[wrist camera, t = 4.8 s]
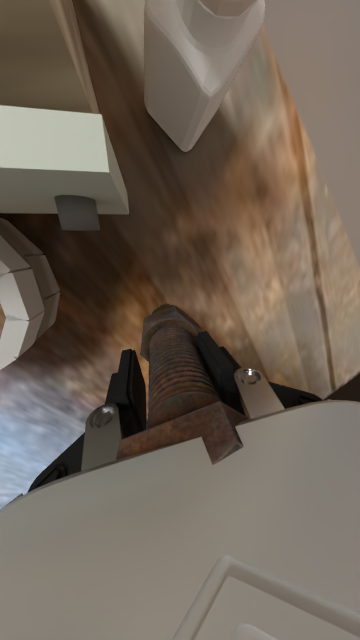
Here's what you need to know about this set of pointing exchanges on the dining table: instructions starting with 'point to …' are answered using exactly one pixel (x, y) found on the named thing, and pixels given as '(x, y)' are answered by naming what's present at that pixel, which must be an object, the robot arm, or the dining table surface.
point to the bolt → (181, 392)
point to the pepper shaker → (194, 59)
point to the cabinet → (42, 97)
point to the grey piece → (49, 198)
